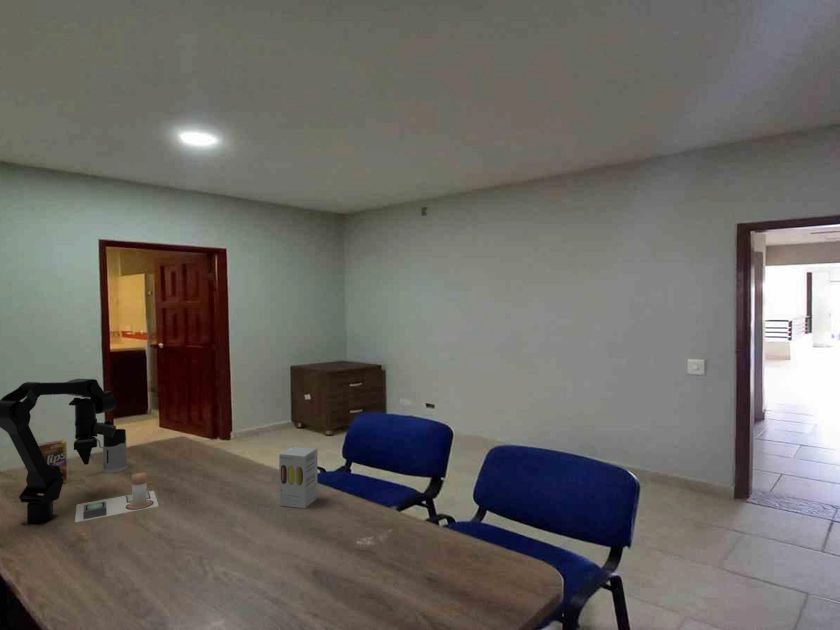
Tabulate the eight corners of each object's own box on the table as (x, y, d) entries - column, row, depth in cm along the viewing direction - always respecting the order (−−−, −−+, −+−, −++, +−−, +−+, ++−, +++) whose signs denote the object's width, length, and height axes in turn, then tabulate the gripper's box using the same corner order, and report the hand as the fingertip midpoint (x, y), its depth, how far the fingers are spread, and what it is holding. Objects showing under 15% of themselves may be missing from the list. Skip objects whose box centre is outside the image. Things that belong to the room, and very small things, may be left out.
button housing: (83, 519, 151) (83, 511, 151) (84, 512, 156) (83, 505, 156) (106, 515, 154) (106, 507, 154) (106, 508, 159) (106, 501, 159)
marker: (143, 506, 160) (142, 476, 160) (129, 506, 160) (128, 476, 160) (149, 501, 164) (149, 472, 164) (136, 501, 164) (135, 472, 164)
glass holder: (132, 468, 201) (132, 430, 200) (93, 478, 189) (93, 438, 188) (120, 464, 205) (120, 427, 205) (82, 474, 193) (81, 435, 193)
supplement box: (278, 506, 162) (277, 453, 162) (292, 495, 171) (291, 445, 171) (305, 509, 160) (305, 455, 159) (318, 498, 169) (318, 447, 168)
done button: (87, 514, 153) (87, 509, 153) (87, 509, 156) (87, 504, 156) (102, 511, 155) (102, 506, 155) (102, 506, 158) (102, 501, 158)
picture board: (74, 524, 149) (74, 521, 149) (76, 506, 163) (76, 503, 163) (158, 507, 161) (158, 505, 161) (153, 492, 175) (153, 490, 175)
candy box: (36, 489, 178) (35, 445, 177) (34, 486, 181) (34, 443, 181) (67, 483, 184) (66, 441, 184) (65, 480, 187) (64, 438, 187)
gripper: (115, 419, 163) (115, 467, 164) (113, 409, 179) (114, 453, 179) (73, 423, 157) (74, 473, 158) (75, 413, 173) (76, 458, 173)
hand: (86, 464), depth 167 cm, fingers closed
